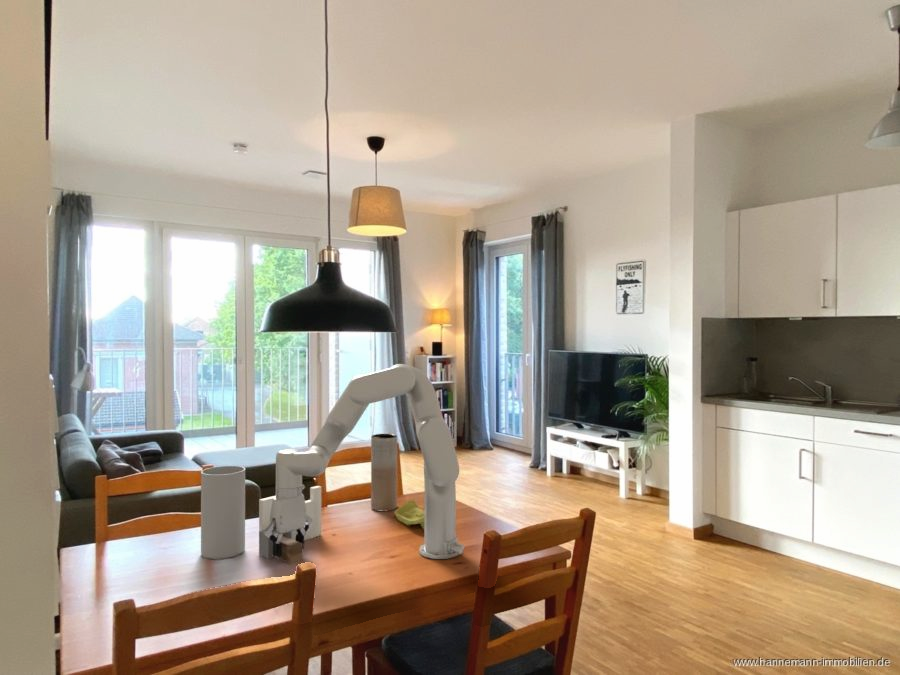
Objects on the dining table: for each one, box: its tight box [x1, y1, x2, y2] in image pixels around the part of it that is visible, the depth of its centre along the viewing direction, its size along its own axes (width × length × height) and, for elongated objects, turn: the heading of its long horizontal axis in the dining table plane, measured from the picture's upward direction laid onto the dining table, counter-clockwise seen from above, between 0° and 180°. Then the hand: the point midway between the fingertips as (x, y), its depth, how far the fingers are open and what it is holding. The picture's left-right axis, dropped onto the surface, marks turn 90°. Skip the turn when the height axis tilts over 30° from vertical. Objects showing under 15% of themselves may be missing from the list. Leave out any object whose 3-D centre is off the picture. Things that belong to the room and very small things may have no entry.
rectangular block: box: [272, 533, 304, 565], centre depth 173 cm, size 13×4×6 cm, turn 50°
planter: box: [370, 433, 398, 512], centre depth 224 cm, size 10×10×28 cm
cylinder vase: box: [200, 465, 246, 560], centre depth 177 cm, size 12×12×25 cm
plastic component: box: [394, 499, 424, 530], centre depth 205 cm, size 20×7×10 cm
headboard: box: [258, 485, 322, 559], centre depth 183 cm, size 7×23×16 cm, turn 140°
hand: (288, 551), depth 172 cm, fingers open, 7 cm apart
